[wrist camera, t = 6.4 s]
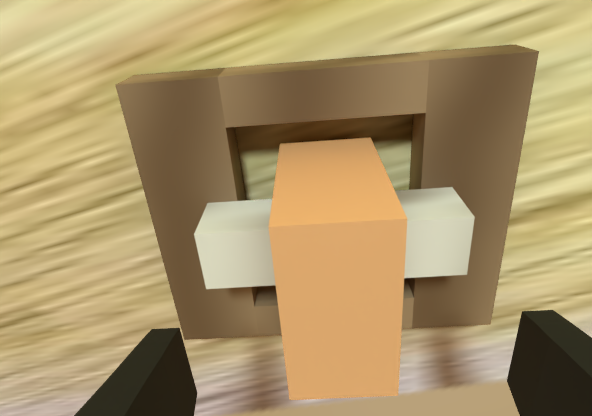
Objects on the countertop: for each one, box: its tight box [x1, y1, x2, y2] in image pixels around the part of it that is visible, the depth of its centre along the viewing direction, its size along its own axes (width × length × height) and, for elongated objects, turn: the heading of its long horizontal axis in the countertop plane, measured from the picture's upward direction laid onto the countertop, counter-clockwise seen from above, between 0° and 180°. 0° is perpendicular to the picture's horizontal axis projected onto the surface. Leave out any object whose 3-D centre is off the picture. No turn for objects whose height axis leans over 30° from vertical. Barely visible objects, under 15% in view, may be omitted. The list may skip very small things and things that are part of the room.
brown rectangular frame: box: [116, 45, 539, 340], centre depth 14 cm, size 12×10×4 cm
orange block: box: [268, 137, 407, 400], centre depth 13 cm, size 3×6×6 cm, turn 4°
